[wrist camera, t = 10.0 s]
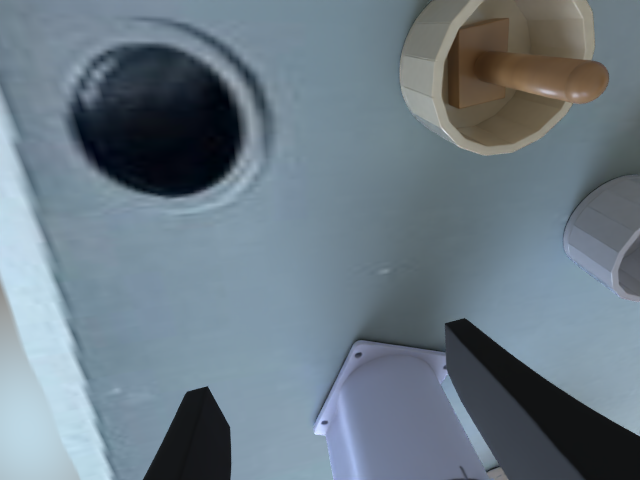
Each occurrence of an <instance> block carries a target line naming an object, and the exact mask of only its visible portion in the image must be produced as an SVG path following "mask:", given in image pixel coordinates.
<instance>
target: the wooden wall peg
mask: <svg viewBox="0 0 640 480" xmlns="http://www.w3.org/2000/svg"><path fill="white" fill-rule="evenodd" d="M508 35H509V18H494V19H489V20H485V21H481V22H477V23H472V24H468V25H464V26H461V27H460V28H459V30H458V32H457V34H456V37H455V39H454V41H453V44H452V46H451V48H450V50H449V53H448V100H449V105H450V106H453V107H455V108H458V109H462V108H466V107H470V106H474V105H478V104H482V103H486V102H491V101H495V100H499V99H503V98H505V90H506V87H507V88H511V89H515V90H520V91H524V92H528V93H532V94H536V95H541V96H545V97H549V98H553V99H557V100H561V101H566V102H570V103H574V104H584V103H588V102H591V101H593V100H595V99H596V98H598V97H599V96H600V95H601V94H602V93H603V92H604V91H605V89H606V87H607V85H608V82H609V73H608V70H607V69H606V67H605V66H604V65H603V64H601V63H600V62H597V61H592V60H582V59H572V58H562V57H552V56H542V55H532V54H522V53H512V52H508Z"/></svg>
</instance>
